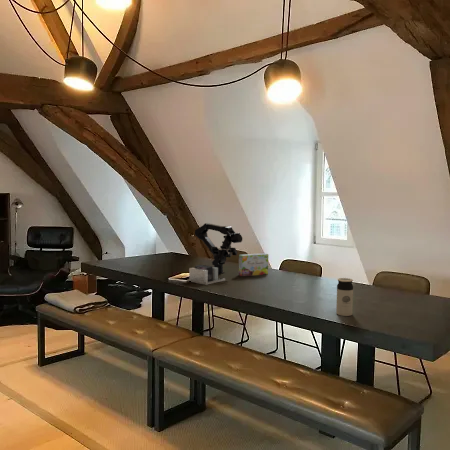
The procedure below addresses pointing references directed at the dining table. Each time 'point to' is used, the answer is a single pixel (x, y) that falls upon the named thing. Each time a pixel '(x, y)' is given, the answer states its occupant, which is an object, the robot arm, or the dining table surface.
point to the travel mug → (344, 297)
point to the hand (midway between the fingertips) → (220, 260)
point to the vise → (201, 276)
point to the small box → (206, 269)
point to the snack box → (253, 264)
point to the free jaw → (214, 273)
